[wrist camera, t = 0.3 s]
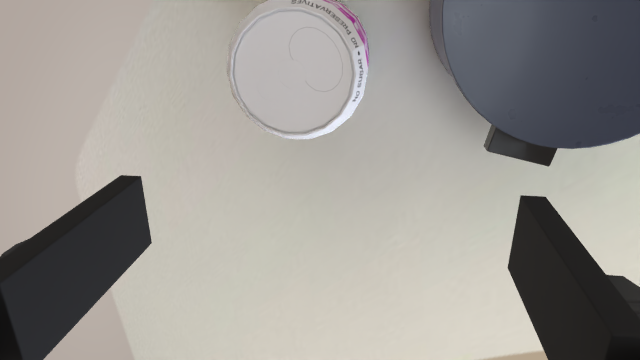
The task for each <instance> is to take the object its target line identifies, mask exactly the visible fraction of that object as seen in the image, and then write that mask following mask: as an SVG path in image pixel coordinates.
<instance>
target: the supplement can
mask: <svg viewBox="0 0 640 360" xmlns="http://www.w3.org/2000/svg"><path fill="white" fill-rule="evenodd" d="M368 59H369V48H368V41H367V35H366V31H365V29H364V27H363V25H362V23H361V22H360V20H359V18H358V16H357V15H356V14H355V13H353V12H352V11H351V10H350V9H349V8H348V7H347V6H346V5H344V4H342V3H340V2H337V1H334V0H269V1H266V2H264V3H262V4H259V5H257V6H256V7H255V8H254V9H253V10H252V11H251V12H250V13H249V14H248V15H247V16H246V17H245V18H244V19H243V20H242V21H241V22H240V23H239V25H238V27H237V29H236V31H235V33H234V36H233V38H232V40H231V42H230V45H229V48H228V61H227V75H228V78H229V82H230V86H231V90H232V94H233V96H234V98H235V99H236V101H237V103H238V104H239V106H240V107H241V109H242V110H243V112H244V113H245V115H246V116H247V117H248V118H249V119H251V120H252V121H253V122H254V123H256V124H257V125H258V126H259V127H261V128H262V129H263V130H265V131H267V132H269V133H272V134H275V135H278V136H281V137H283V138H286V139H312V138H315V137H318V136H321V135H324V134H326V133H329V132H332V131H334V130H335V129H336V128H337V127H338V126H340V125H341V124H342V123H343V122H345V121H346V120H347V119H348V118H349V117H351V115H352V114H353V112H354V110H355V109H356V107H357V105H358V104H359V102H360V100H361V98H362V97H363V95H364V89H365V84H366V79H367V74H368Z"/></svg>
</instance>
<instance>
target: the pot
mask: <svg viewBox="0 0 640 360" xmlns="http://www.w3.org/2000/svg"><path fill="white" fill-rule="evenodd" d="M429 19H430V29H431V36H432V40H433V43H434V46H435V49H436V52H437V54H438V56H439V58H440V61H441V62H442V64H443V65H444V67H445V69H446V70H447V71H448V73H449V74H450V75H451V76H452V77H453V79H454V81H455V83H456V85H457V86H458V88H459V89H460V91H461V93H462V94H463V96H464V97H465V98H466V100H467V101H468V102H469V103H470V104H471V105H472V107H473V108H474V109H475V110H476V111H477V112H478V113H479V114H480V115H481V116H483V117H484V118H485V119H486V120H487V121H488V122H489V123H491V124H492V125H491V128H490V131H489V133H488V136H487V139H486V141H485V144H484V147H485V149H486V150H487V151H488V152H492V153H496V154H500V155H505V156H509V157H513V158H517V159H521V160H525V161H529V162H533V163H537V164H541V165H545V166H550V164H551V162H552V159H553V157H554V155H555V153H556V150H557V148H567V149H575V148H590V147H596V146H601V145H607V144H611V143H614V142H618V141H621V140H624V139H628V138H630V137H633V136H635V135H638V134H640V0H430V8H429Z"/></svg>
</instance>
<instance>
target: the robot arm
mask: <svg viewBox="0 0 640 360" xmlns="http://www.w3.org/2000/svg"><path fill="white" fill-rule="evenodd" d="M151 243H152V242H151V236H150V230H149V223H148V217H147V211H146V205H145V199H144V192H143V186H142V180H141V176H124V175H121V176H119V177H118V178H117V179H115V180H114V181H112V182H111V183H109V184H108V185H106V186H105V187H104V188H102V189H101V190H99V191H98V192H96V193H95V194H93V195H92V196H91V197H89V198H88V199H86V200H85V201H83V202H82V203H80V204H79V205H78V206H76V207H75V208H73V209H72V210H71V211H69V212H68V213H66V214H65V215H63V216H62V217H61V218H59V219H58V220H56V221H55V222H53V223H52V224H50V225H49V226H48V227H46V228H44V229H43V230H42V231H40V232H39V233H37V234H36V235H34V236H33V237H32V238H30V239H28V240H25V241H23V242H21V243H18V244H16V245H14V246H13V247H12V248H10V249H9V250H7V251H6V252H4V253H3V254H2V255H1V257H0V360H43V359H44V358H45V357H46V356H47V355H48V354H49V353H50V352H51V351H52V349H53V348H54V347H55V346H56V345H57V344H58V343H59V342H60V341H61V340H62V339H63V338H64V337H65V336H66V334H67V333H68V332H69V331H70V330H71V329H72V328H73V327H74V326H75V325H76V324H77V323H78V322H79V320H80V319H81V318H82V317H83V316H84V315H85V314H86V313H87V312H88V311H89V310H90V309H91V308H92V307H93V305H94V304H95V303H96V302H97V301H98V300H99V299H100V298H101V297H102V296H103V295H104V294H105V293H106V292H107V290H108V289H109V288H110V287H111V286H112V285H113V284H114V283H115V282H116V281H117V280H118V279H119V278H120V276H121V275H122V274H123V273H124V272H125V271H126V270H127V269H128V268H129V267H130V266H131V265H132V264H133V263H134V261H135V260H136V259H137V258H138V257H139V256H140V255H141V254H142V253H143V252H144V251H145V250H146V249H147V248H148V246H149V245H150V244H151ZM508 269H509V272H510V274H511V276H512V278H513V281H514V283H515V285H516V288H517V290H518V292H519V294H520V297H521V299H522V301H523V303H524V306H525V308H526V310H527V313H528V315H529V317H530V319H531V322H532V324H533V326H534V328H535V331H536V333H537V335H538V338H539V340H540V342H541V344H542V347H543V349H544V351H545V353H546V356H547V358H548V360H640V287H639V286H637V285H635V284H634V283H632V282H631V281H629V280H628V279H626V278H625V277H623V276H613V275H606V274H605V273H604V272H603V270H602V269H601V268H600V267H599V265H598V264H597V263H596V261H595V260H594V259H593V258H592V256H591V255H590V254H589V252H588V251H587V250H586V249H585V247H584V246H583V245H582V243H581V242H580V241H579V239H578V238H577V237H576V236H575V234H574V233H573V232H572V230H571V229H570V228H569V227H568V225H567V224H566V223H565V221H564V220H563V219H562V218H561V216H560V215H559V214H558V212H557V211H556V210H555V209H554V207H553V206H552V205H551V203H550V202H549V201H548V199H547V198H546V197H539V196H521V197H520V202H519V208H518V214H517V219H516V225H515V230H514V236H513V241H512V247H511V253H510V258H509V264H508Z"/></svg>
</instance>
